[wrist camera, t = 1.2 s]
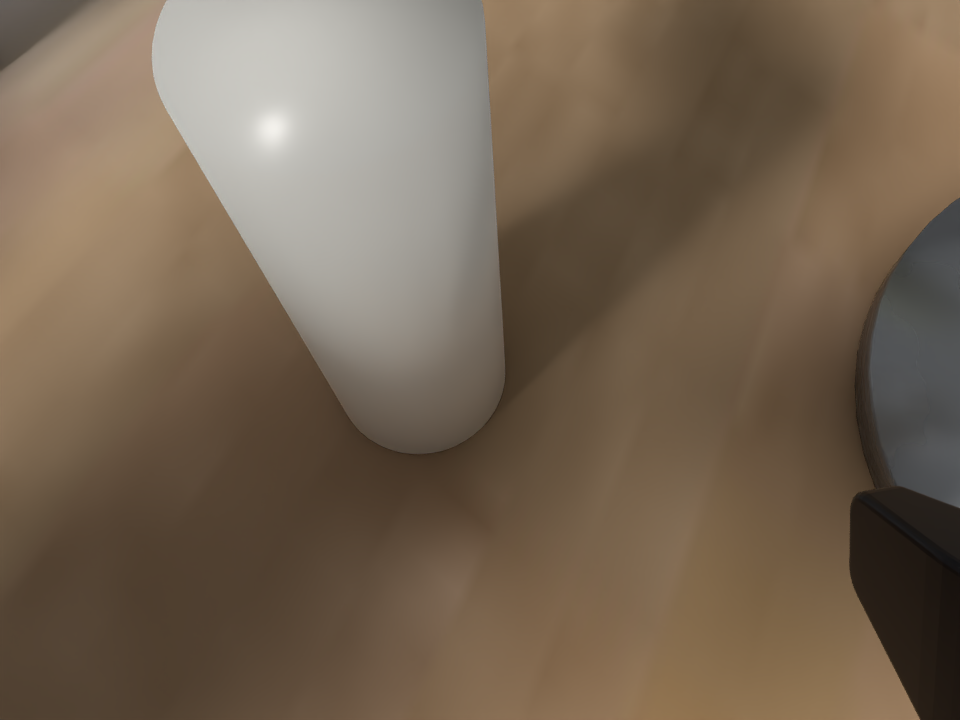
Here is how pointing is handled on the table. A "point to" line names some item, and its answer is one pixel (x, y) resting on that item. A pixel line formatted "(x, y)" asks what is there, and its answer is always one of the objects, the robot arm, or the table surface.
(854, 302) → the table surface
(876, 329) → the flange plate
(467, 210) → the duct elbow
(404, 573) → the table surface
